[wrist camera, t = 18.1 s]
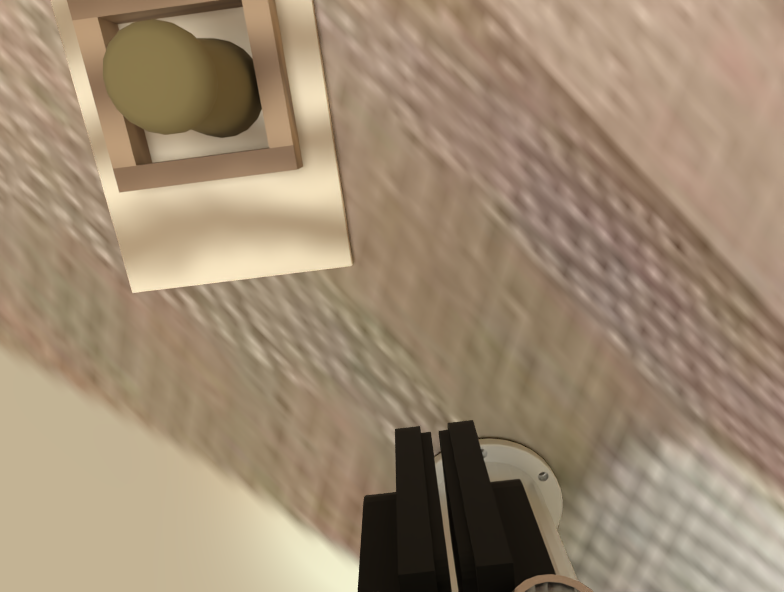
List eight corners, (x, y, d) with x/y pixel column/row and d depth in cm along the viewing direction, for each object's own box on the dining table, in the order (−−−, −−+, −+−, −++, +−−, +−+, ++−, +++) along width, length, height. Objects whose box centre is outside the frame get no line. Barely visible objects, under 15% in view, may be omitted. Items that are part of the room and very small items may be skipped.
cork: (224, 17, 34) (151, -29, 24) (283, 102, 36) (240, 94, 25) (151, 76, 35) (51, 57, 25) (212, 156, 37) (142, 170, 26)
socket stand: (352, 262, 40) (349, 275, 37) (138, 288, 41) (116, 303, 37) (305, -49, 34) (296, -67, 31) (54, -13, 35) (19, -27, 31)
